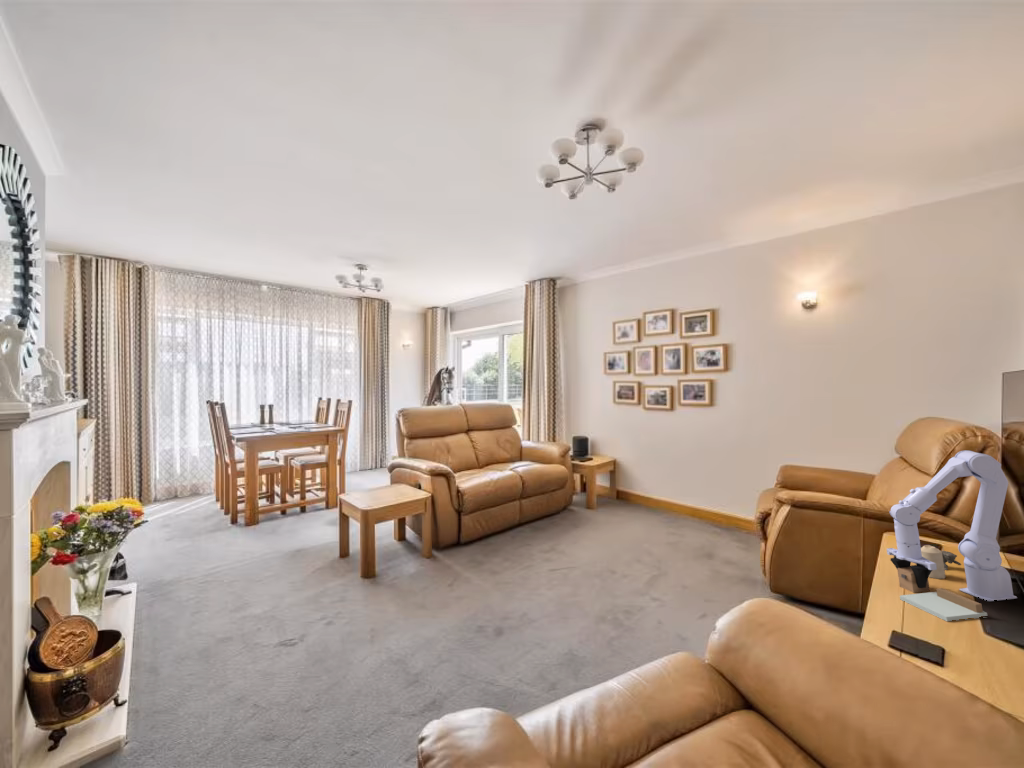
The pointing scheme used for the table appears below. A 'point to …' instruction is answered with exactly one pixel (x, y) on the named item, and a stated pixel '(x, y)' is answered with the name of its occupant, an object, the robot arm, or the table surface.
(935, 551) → the candle
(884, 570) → the table surface
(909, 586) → the cabinet block
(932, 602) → the wall board
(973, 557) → the robot arm
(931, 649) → the table surface
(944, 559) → the dog figurine
